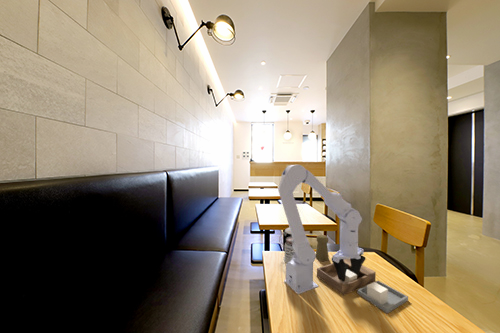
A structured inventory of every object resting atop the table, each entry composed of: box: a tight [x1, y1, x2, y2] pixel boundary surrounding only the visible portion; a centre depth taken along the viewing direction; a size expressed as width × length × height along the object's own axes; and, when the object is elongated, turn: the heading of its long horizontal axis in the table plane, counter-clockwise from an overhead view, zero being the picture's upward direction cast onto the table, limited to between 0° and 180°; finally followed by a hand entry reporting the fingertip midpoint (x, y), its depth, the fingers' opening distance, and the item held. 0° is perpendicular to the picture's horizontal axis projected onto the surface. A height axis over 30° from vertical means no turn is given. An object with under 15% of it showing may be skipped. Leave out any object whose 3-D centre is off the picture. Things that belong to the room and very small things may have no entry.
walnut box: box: [316, 259, 377, 296], centre depth 69 cm, size 18×12×4 cm, turn 116°
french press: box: [278, 227, 295, 264], centre depth 83 cm, size 10×12×25 cm
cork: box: [315, 234, 330, 263], centre depth 85 cm, size 6×6×11 cm
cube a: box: [366, 281, 388, 305], centre depth 58 cm, size 4×4×4 cm
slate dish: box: [357, 280, 409, 314], centre depth 60 cm, size 12×9×2 cm
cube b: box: [340, 269, 357, 285], centre depth 66 cm, size 4×4×4 cm
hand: (348, 277), depth 66 cm, fingers open, 7 cm apart
